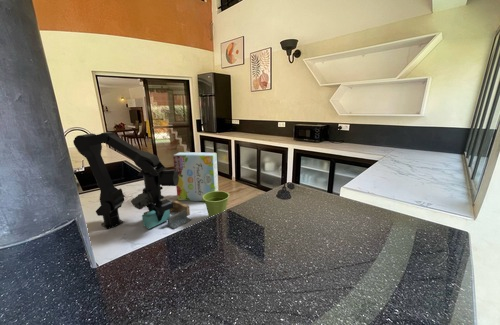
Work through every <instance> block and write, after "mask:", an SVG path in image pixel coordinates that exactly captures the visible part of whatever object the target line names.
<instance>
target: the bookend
mask: <svg viewBox="0 0 500 325" xmlns="http://www.w3.org/2000/svg"><path fill="white" fill-rule="evenodd" d="M166 221H167V227H169V228H170V229H172V230H175V229H179V228H180V227H182V226H183V225H186V224H188V223H189V222H191V221H192V218H190V217H188V216H187V211H186V210H183V211H181V212H177V213H174V214H172V215H170V217H168V218H167V220H166Z"/></svg>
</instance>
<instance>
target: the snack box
mask: <svg viewBox="0 0 500 325" xmlns="http://www.w3.org/2000/svg"><path fill="white" fill-rule="evenodd" d="M217 154H218V153H217V152H200V151H199V152H197V151H195V152H192V151H191V152H185V151H184V152H183V151H182V152H181V151H180V152H177V153H175V154H173V155H172V157H173V166H174V168H173V169H175V170H176V172H177V174H178V176H179V182H178V185H177V186H175V187H176V195H177V201H189V202H190V201H193V202H195V201H196V202H205V201H204V199H203V195H205V194H206V193H209V192H213V191H219V174H218V155H217Z"/></svg>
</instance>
